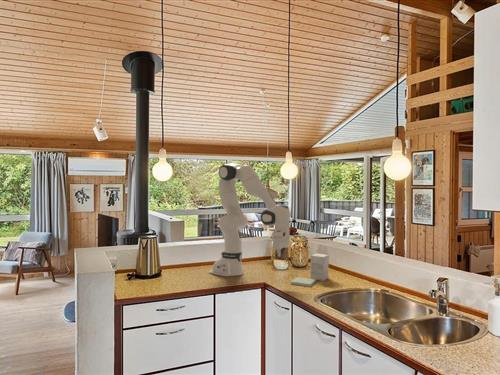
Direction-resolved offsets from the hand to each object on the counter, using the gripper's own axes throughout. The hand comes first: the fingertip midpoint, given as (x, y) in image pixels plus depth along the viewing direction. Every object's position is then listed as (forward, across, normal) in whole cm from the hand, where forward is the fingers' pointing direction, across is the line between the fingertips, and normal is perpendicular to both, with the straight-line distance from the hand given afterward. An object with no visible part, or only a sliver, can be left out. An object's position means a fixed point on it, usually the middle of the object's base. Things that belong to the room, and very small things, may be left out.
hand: (281, 255), depth 234 cm
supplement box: (+17, -24, +17) cm, 34 cm away
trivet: (+17, -9, +11) cm, 22 cm away
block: (+2, 0, 0) cm, 2 cm away
